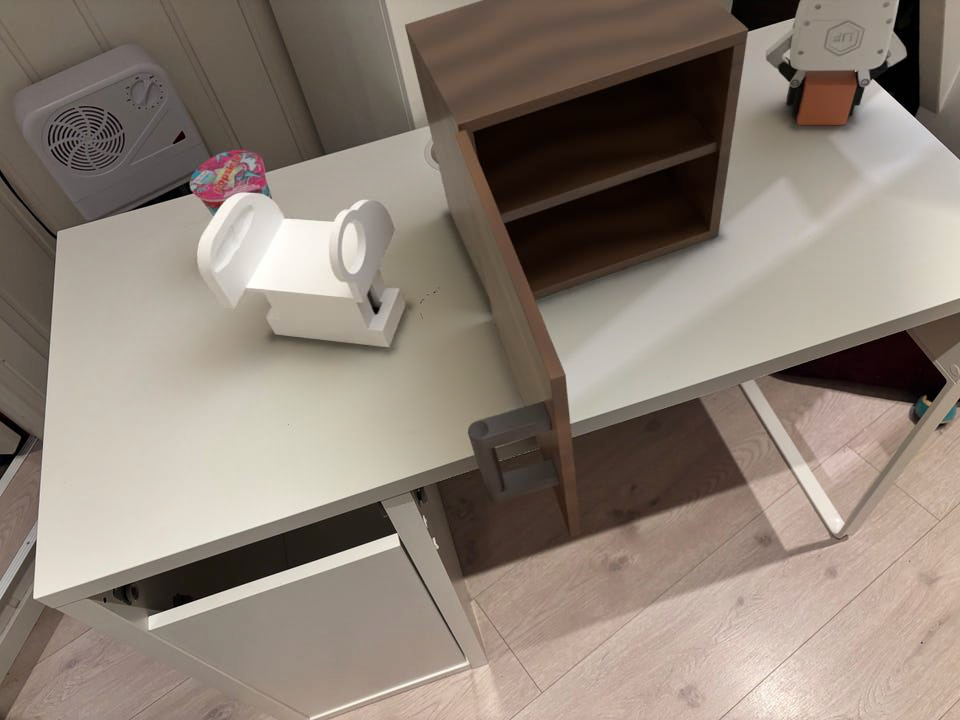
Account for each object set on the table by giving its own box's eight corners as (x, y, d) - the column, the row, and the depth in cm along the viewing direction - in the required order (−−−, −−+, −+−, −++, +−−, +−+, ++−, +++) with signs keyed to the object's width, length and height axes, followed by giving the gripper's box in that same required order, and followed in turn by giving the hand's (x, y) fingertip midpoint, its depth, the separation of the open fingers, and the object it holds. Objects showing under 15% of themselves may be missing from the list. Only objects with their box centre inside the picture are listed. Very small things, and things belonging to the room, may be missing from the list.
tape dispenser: (413, 287, 85) (372, 161, 71) (378, 379, 78) (324, 259, 64) (303, 277, 89) (242, 155, 74) (259, 364, 81) (183, 247, 67)
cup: (226, 277, 91) (180, 202, 81) (242, 229, 96) (200, 153, 86) (299, 271, 89) (261, 194, 80) (311, 222, 94) (276, 145, 85)
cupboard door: (506, 558, 64) (458, 406, 45) (441, 333, 80) (386, 151, 61) (581, 535, 64) (565, 375, 45) (502, 316, 80) (465, 129, 61)
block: (842, 98, 93) (853, 58, 89) (845, 125, 90) (857, 85, 86) (795, 98, 95) (804, 58, 90) (797, 125, 92) (806, 85, 87)
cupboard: (718, 235, 83) (748, 28, 63) (495, 313, 81) (457, 124, 61) (647, 145, 94) (654, -55, 74) (449, 211, 92) (404, 24, 72)
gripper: (771, -18, 78) (747, 127, 92) (954, -25, 74) (900, 128, 88) (770, -53, 82) (748, 91, 96) (944, -61, 78) (893, 90, 92)
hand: (821, 107), depth 92 cm, fingers closed on block, 5 cm apart
